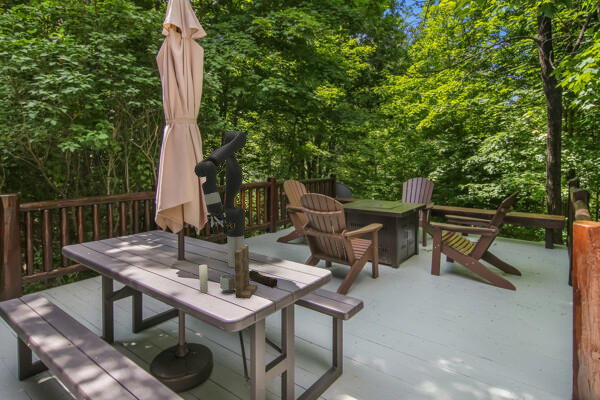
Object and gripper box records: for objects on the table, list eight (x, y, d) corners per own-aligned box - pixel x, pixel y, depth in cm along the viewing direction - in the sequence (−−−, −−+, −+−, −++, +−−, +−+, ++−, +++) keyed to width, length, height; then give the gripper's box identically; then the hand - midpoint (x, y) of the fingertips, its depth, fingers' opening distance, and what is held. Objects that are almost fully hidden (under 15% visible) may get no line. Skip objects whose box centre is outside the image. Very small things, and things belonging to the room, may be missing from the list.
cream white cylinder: (202, 289, 155) (201, 264, 154) (209, 290, 154) (208, 264, 153) (198, 292, 152) (197, 266, 150) (205, 293, 151) (204, 267, 150)
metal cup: (224, 284, 157) (224, 273, 156) (243, 285, 155) (242, 274, 154) (218, 289, 150) (218, 278, 149) (237, 290, 148) (237, 279, 148)
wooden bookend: (245, 287, 158) (244, 245, 156) (257, 288, 157) (256, 246, 154) (235, 297, 146) (234, 252, 144) (248, 298, 145) (248, 252, 143)
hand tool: (278, 286, 160) (278, 276, 159) (271, 288, 157) (271, 278, 156) (253, 277, 173) (253, 268, 173) (247, 278, 170) (247, 269, 170)
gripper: (228, 199, 164) (235, 231, 166) (211, 201, 174) (219, 231, 175) (215, 203, 158) (223, 236, 160) (198, 205, 168) (206, 236, 170)
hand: (221, 233), depth 168 cm, fingers open, 8 cm apart
